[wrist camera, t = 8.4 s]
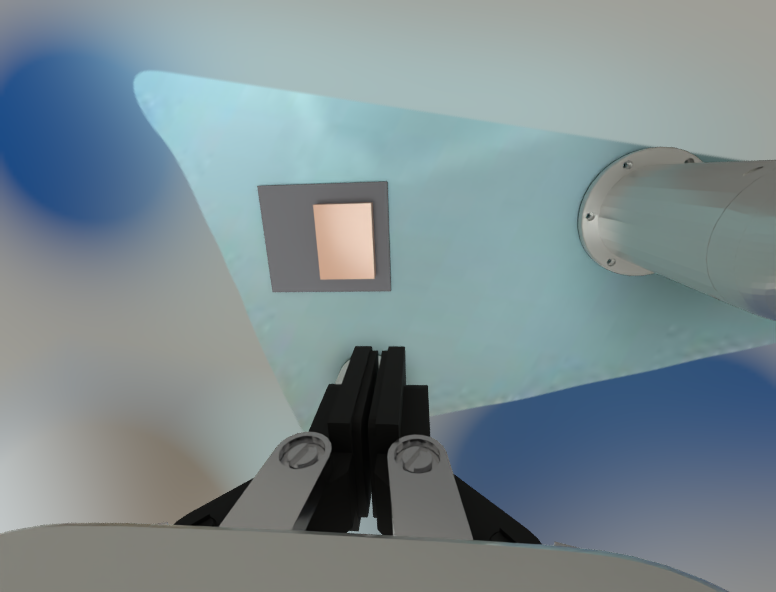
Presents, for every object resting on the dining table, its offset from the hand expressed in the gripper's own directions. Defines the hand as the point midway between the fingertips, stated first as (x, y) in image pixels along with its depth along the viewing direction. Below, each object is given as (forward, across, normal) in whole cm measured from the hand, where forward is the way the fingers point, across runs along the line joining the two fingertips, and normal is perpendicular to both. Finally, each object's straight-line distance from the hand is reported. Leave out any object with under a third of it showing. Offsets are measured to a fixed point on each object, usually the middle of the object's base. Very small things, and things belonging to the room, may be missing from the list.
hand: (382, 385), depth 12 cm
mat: (+29, +9, 0) cm, 30 cm away
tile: (+28, +10, 0) cm, 29 cm away
